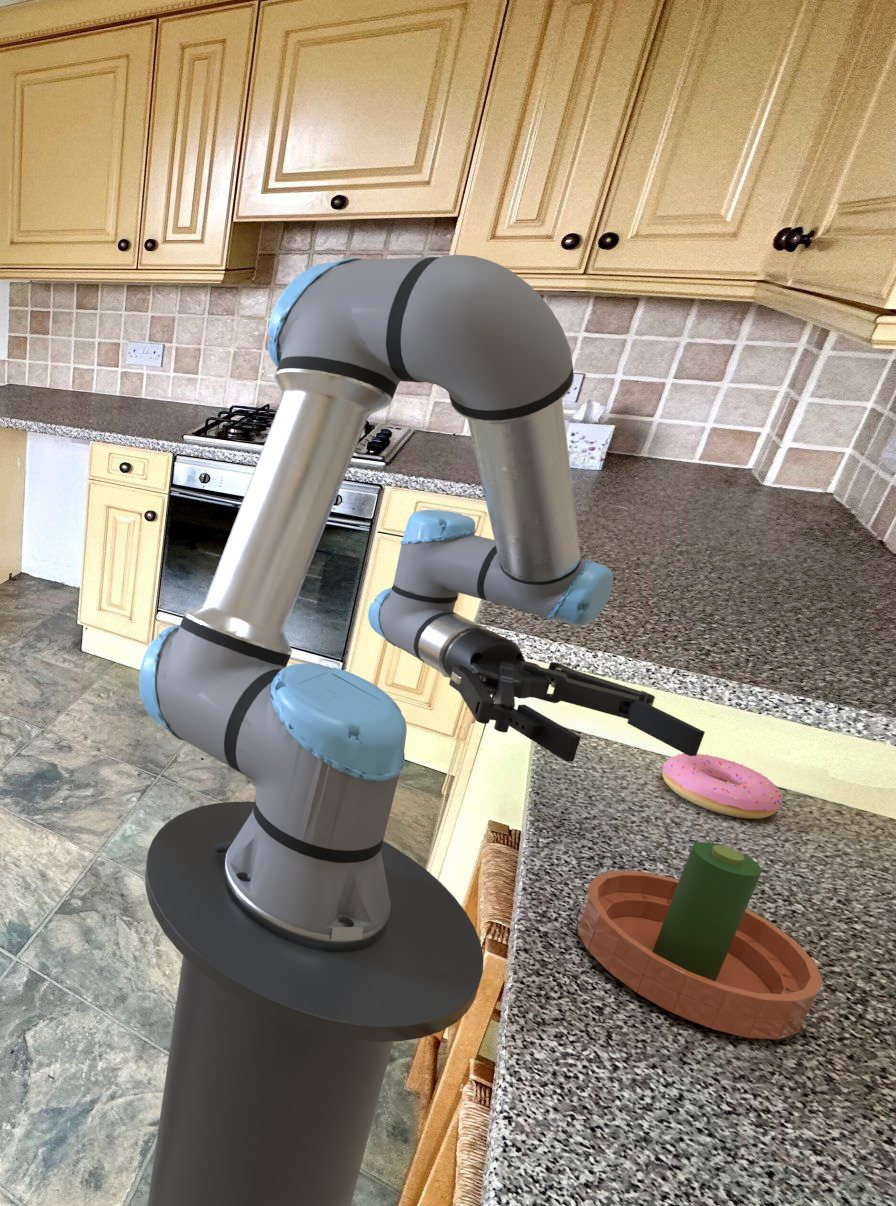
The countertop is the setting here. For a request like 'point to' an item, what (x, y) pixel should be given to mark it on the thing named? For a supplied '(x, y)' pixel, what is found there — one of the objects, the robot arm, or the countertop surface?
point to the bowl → (730, 1004)
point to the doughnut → (722, 786)
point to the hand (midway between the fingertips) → (636, 747)
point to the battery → (707, 908)
